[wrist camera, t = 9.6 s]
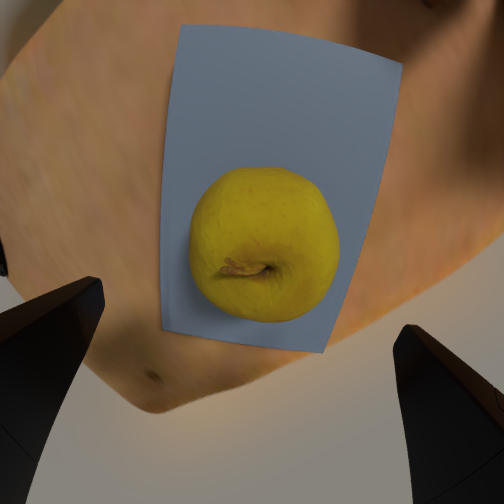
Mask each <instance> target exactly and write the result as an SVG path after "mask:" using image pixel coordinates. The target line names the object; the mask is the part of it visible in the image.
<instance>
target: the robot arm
mask: <svg viewBox="0 0 504 504" xmlns="http://www.w3.org/2000/svg"><path fill="white" fill-rule="evenodd" d="M6 275H7V270H6V266H5V262H4V258H3V253H2V249H1V244H0V276H3V277H5V276H6ZM104 307H105V299H104V292H103V285H102V281H101V280H100V279H99V278H96V277H91V276H87V277H84V278H82V279H80V280H77V281H75V282H72V283H70V284H67V285H65V286H63V287H60V288H58V289H55V290H53V291H51V292H48V293H46V294H43V295H41V296H39V297H36V298H34V299H32V300H30V301H27V302H25V303H23V304H20V305H18V306H16V307H13V308H11V309H9V310H7V311H4V312H2V313H0V504H25V503H26V500H27V496H28V493H29V489H30V487H31V484H32V481H33V477H34V474H35V472H36V469H37V466H38V462H39V460H40V457H41V454H42V451H43V449H44V446H45V444H46V441H47V438H48V436H49V433H50V431H51V428H52V426H53V424H54V421H55V418H56V416H57V414H58V412H59V409H60V407H61V405H62V403H63V400H64V398H65V396H66V394H67V391H68V389H69V387H70V385H71V383H72V381H73V379H74V377H75V375H76V372H77V370H78V368H79V366H80V364H81V362H82V360H83V358H84V356H85V354H86V352H87V350H88V348H89V345H90V343H91V340H92V338H93V335H94V333H95V330H96V328H97V325H98V323H99V320H100V318H101V315H102V313H103V310H104ZM393 357H394V365H395V373H396V383H397V392H398V398H399V403H400V408H401V414H402V420H403V425H404V431H405V438H406V444H407V451H408V459H409V467H410V476H411V486H412V497H413V504H504V394H502V393H501V392H500V391H499V390H498V389H496V388H495V387H494V386H493V385H492V384H490V383H489V382H488V381H487V380H486V379H484V378H483V377H482V376H481V375H479V374H478V373H477V372H476V371H475V370H473V369H472V368H471V367H470V366H468V365H467V364H466V363H465V362H464V361H462V360H461V359H460V358H459V357H457V356H456V355H455V354H454V353H452V352H451V351H450V350H449V349H447V348H446V347H445V346H444V345H442V344H441V343H440V342H439V341H437V340H436V339H435V338H433V337H432V336H431V335H430V334H428V333H427V332H426V331H424V330H423V329H422V328H421V327H419V326H418V325H410V324H407V325H405V326H404V327H403V329H402V330H401V332H400V334H399V336H398V338H397V339H396V342H395V343H394V346H393Z"/></svg>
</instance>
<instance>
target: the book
mask: <svg viewBox="0 0 504 504" xmlns="http://www.w3.org/2000/svg"><path fill="white" fill-rule="evenodd" d="M402 67H403V64H401V63H399V62H396V61H393V60H390V59H388V58H385V57H382V56H379V55H376V54H373V53H370V52H367V51H363V50H360V49H357V48H353V47H350V46H346V45H342V44H339V43H335V42H331V41H326V40H322V39H318V38H313V37H308V36H303V35H298V34H292V33H286V32H280V31H273V30H266V29H258V28H248V27H237V26H222V25H181V29H180V35H179V40H178V46H177V51H176V57H175V64H174V70H173V77H172V84H171V92H170V99H169V108H168V117H167V126H166V137H165V148H164V161H163V176H162V195H161V225H160V285H161V314H162V330H166V331H171V332H176V333H181V334H186V335H192V336H197V337H202V338H208V339H214V340H220V341H226V342H232V343H239V344H246V345H253V346H260V347H268V348H276V349H285V350H294V351H303V352H314V353H323V352H324V349H325V347H326V345H327V342H328V340H329V337H330V335H331V332H332V330H333V327H334V325H335V322H336V320H337V317H338V314H339V312H340V309H341V306H342V304H343V301H344V298H345V296H346V293H347V290H348V287H349V284H350V282H351V279H352V276H353V273H354V270H355V267H356V264H357V261H358V258H359V255H360V252H361V248H362V245H363V242H364V239H365V236H366V232H367V229H368V226H369V222H370V219H371V215H372V212H373V208H374V204H375V201H376V197H377V193H378V189H379V185H380V182H381V178H382V173H383V169H384V165H385V161H386V156H387V152H388V147H389V143H390V138H391V133H392V128H393V123H394V118H395V112H396V106H397V101H398V95H399V88H400V81H401V74H402ZM242 167H281V168H285V169H287V170H289V171H291V172H294V173H296V174H298V175H301V176H303V177H304V178H306V179H307V180H309V181H311V182H312V183H313V184H314V185H315V186H316V187H317V188H319V190H320V192H321V193H322V195H323V197H324V199H325V201H326V203H327V205H328V207H329V209H330V211H331V214H332V216H333V219H334V222H335V225H336V227H337V231H338V237H339V246H340V258H339V263H338V268H337V271H336V274H335V277H334V279H333V282H332V284H331V286H330V288H329V290H328V291H327V293H326V295H325V297H324V298H323V299H322V300H321V302H320V303H319V304H318V305H316V306H315V307H314V308H313V309H312V310H311V311H309V312H308V313H306V314H304V315H302V316H301V317H299V318H296V319H294V320H291V321H286V322H280V323H264V322H256V321H252V320H248V319H244V318H240V317H236V316H233V315H230V314H228V313H226V312H224V311H222V310H221V309H220V308H218V307H217V306H215V305H214V304H212V303H211V302H210V301H209V300H208V299H207V298H206V297H205V296H204V295H203V294H202V293H201V291H200V290H199V288H198V287H197V285H196V283H195V281H194V279H193V276H192V273H191V269H190V264H189V230H190V224H191V218H192V215H193V212H194V209H195V207H196V205H197V203H198V201H199V200H200V198H201V197H202V195H203V194H204V193H205V191H206V190H207V189H208V188H209V187H210V186H211V185H212V184H213V183H214V182H215V181H216V180H217V179H218V178H219V177H221V176H222V175H223V174H225V173H226V172H228V171H230V170H233V169H237V168H242Z"/></svg>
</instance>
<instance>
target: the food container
mask: <svg viewBox="0 0 504 504" xmlns="http://www.w3.org/2000/svg"><path fill="white" fill-rule="evenodd" d="M422 1H423V3H424V4H425V5H426V6H427V7H428V8H429V9H431V8H434V7H436V6H438V5H440V4H442V3H444V2H447V1H449V0H422Z"/></svg>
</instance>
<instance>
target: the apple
mask: <svg viewBox="0 0 504 504" xmlns="http://www.w3.org/2000/svg"><path fill="white" fill-rule="evenodd" d="M339 258H340V246H339V237H338V231H337V227H336V225H335V222H334V219H333V216H332V214H331V211H330V209H329V207H328V205H327V203H326V201H325V199H324V197H323V195H322V193H321V192H320V190H319V188H317V187H316V186H315V185H314V184H313V183H312V182H311V181H309V180H307V179H306V178H304V177H303V176H301V175H298V174H296V173H294V172H291V171H289V170H287V169H285V168H281V167H242V168H237V169H233V170H230V171H228V172H226V173H225V174H223V175H222V176H221V177H219V178H218V179H217V180H216V181H215V182H214V183H213V184H212V185H211V186H210V187H209V188H208V189H207V190H206V191H205V193H204V194H203V195H202V197H201V198H200V200H199V201H198V203H197V205H196V207H195V209H194V212H193V215H192V218H191V224H190V230H189V264H190V269H191V273H192V276H193V279H194V281H195V283H196V285H197V287H198V288H199V290H200V291H201V293H202V294H203V295H204V296H205V297H206V298H207V299H208V300H209V301H210V302H211V303H212V304H214V305H215V306H217V307H218V308H220V309H221V310H222V311H224V312H226V313H228V314H230V315H233V316H236V317H240V318H244V319H248V320H252V321H256V322H264V323H280V322H286V321H291V320H294V319H296V318H299V317H301V316H302V315H304V314H306V313H308V312H309V311H311V310H312V309H313V308H314V307H315V306H316V305H318V304H319V303H320V302H321V300H322V299H323V298H324V297H325V295H326V293H327V291H328V290H329V288H330V286H331V284H332V282H333V279H334V277H335V274H336V271H337V268H338V263H339Z"/></svg>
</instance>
